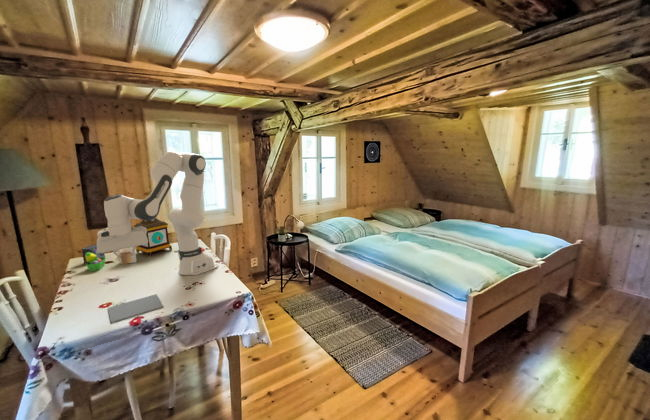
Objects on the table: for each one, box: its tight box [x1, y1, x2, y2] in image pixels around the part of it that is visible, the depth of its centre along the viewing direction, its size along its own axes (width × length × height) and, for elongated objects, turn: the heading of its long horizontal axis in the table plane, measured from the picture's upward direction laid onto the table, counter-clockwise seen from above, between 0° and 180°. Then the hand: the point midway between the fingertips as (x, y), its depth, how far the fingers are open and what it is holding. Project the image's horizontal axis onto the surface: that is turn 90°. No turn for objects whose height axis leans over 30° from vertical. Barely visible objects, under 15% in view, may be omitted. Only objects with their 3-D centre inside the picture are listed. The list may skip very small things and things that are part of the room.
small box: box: [81, 243, 106, 264], centre depth 198 cm, size 11×6×10 cm, turn 168°
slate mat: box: [107, 293, 164, 324], centre depth 135 cm, size 20×16×1 cm
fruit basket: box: [85, 252, 106, 272], centre depth 185 cm, size 11×9×11 cm
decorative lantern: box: [132, 217, 173, 258], centre depth 213 cm, size 20×20×30 cm
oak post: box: [120, 248, 132, 265], centre depth 139 cm, size 4×4×12 cm
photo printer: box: [116, 247, 138, 265], centre depth 194 cm, size 10×4×12 cm, turn 96°
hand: (126, 256), depth 139 cm, fingers closed on oak post, 4 cm apart
